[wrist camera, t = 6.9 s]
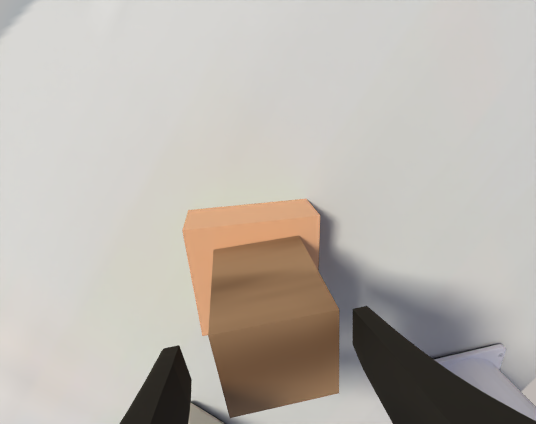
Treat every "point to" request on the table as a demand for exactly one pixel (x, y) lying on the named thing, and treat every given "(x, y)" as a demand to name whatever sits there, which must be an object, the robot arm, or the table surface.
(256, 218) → the terracotta block
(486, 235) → the table surface
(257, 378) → the walnut block
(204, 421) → the skincare box
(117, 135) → the table surface
